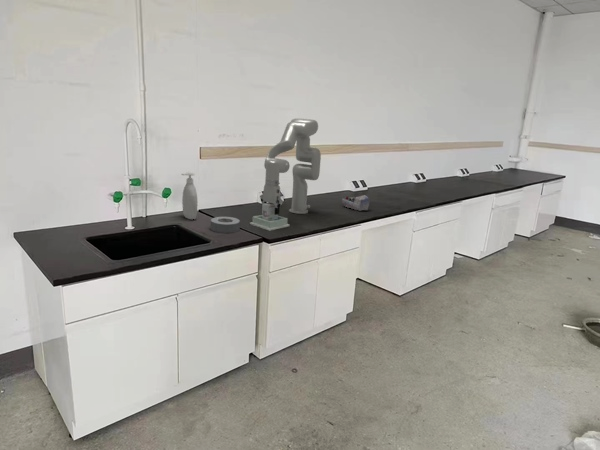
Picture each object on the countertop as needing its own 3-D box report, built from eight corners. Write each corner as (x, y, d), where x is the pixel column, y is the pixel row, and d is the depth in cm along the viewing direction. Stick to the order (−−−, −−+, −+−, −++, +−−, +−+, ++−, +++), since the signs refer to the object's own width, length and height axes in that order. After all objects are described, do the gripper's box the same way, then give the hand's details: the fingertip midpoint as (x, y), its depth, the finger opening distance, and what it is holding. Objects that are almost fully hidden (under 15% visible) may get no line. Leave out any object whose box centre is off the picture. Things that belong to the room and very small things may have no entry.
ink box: (271, 221, 238) (272, 201, 235) (277, 223, 235) (279, 203, 232) (261, 223, 232) (262, 203, 229) (267, 225, 229) (268, 204, 226)
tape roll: (245, 230, 221) (245, 221, 219) (221, 235, 210) (221, 225, 209) (228, 223, 231) (229, 215, 230) (205, 227, 221) (205, 218, 219)
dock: (269, 220, 244) (270, 212, 243) (289, 226, 235) (290, 218, 233) (249, 224, 233) (250, 216, 231) (269, 230, 223) (270, 222, 222)
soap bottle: (176, 216, 239) (176, 169, 232) (189, 214, 244) (189, 169, 237) (187, 221, 228) (187, 173, 221) (201, 220, 234) (201, 173, 226)
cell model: (361, 197, 278) (340, 192, 292) (359, 212, 281) (338, 207, 295) (373, 195, 286) (352, 191, 301) (372, 210, 289) (351, 205, 303)
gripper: (288, 184, 225) (286, 214, 229) (265, 179, 235) (264, 208, 240) (278, 186, 219) (277, 216, 224) (256, 180, 230) (255, 210, 234)
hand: (270, 212), depth 232 cm, fingers open, 9 cm apart
